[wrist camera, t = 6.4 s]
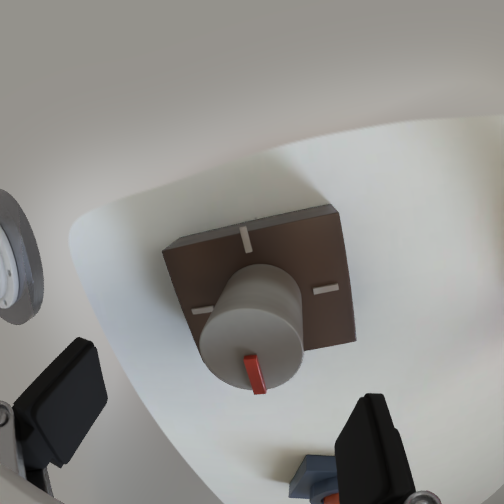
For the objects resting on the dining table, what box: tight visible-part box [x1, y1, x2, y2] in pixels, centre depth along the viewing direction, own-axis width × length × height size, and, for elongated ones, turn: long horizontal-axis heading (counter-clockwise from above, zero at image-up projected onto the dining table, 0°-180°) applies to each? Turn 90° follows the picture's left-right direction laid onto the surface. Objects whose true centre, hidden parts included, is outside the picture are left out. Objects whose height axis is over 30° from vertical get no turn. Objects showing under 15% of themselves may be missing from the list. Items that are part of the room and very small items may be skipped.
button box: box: [289, 455, 339, 504], centre depth 24 cm, size 10×8×4 cm
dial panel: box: [162, 204, 356, 362], centre depth 18 cm, size 10×9×3 cm
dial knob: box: [199, 264, 304, 394], centre depth 14 cm, size 4×4×5 cm
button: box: [324, 493, 339, 504], centre depth 21 cm, size 4×4×2 cm
